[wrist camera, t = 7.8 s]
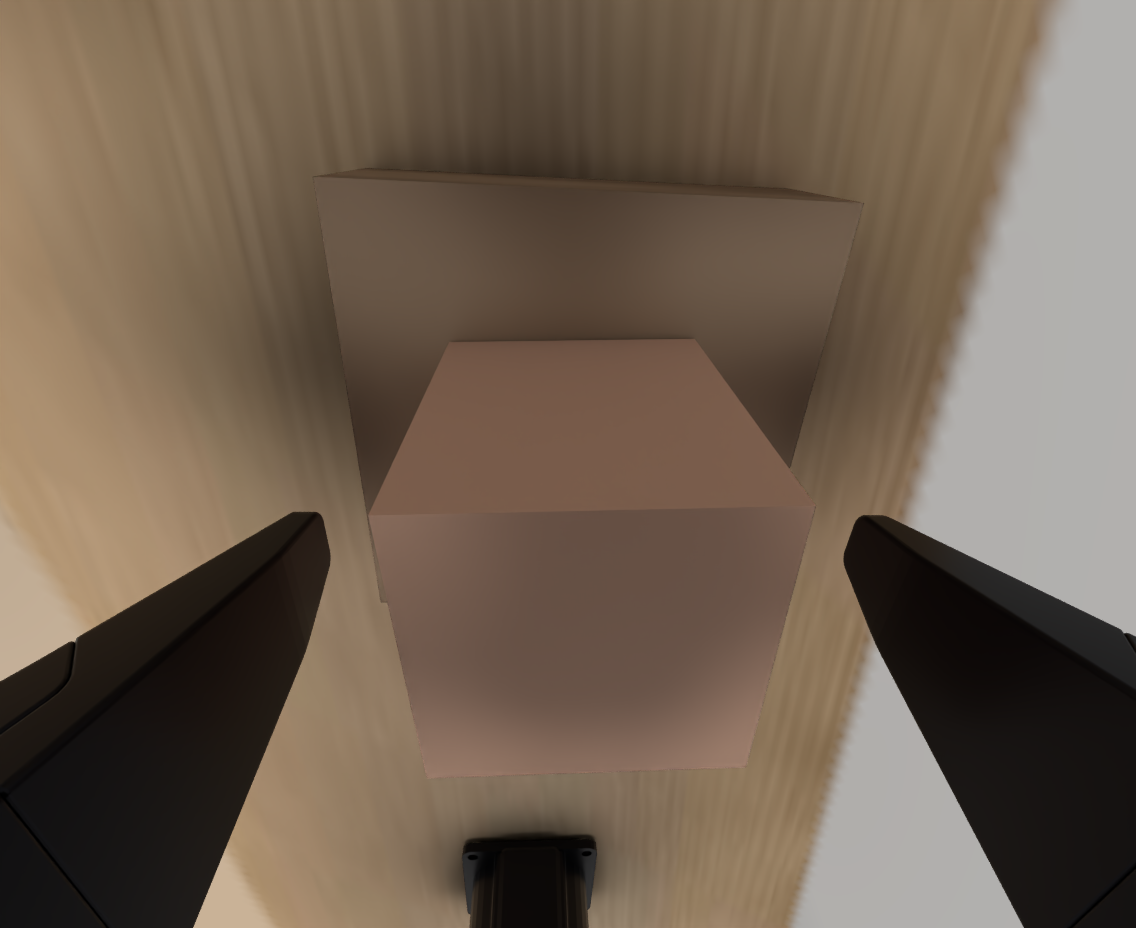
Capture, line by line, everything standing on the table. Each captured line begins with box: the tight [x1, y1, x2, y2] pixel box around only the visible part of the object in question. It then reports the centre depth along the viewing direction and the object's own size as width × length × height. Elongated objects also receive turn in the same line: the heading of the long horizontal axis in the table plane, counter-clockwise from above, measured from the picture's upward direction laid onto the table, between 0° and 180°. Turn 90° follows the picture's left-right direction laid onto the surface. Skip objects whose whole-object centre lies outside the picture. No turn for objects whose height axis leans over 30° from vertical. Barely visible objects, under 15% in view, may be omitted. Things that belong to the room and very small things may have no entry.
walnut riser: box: [313, 168, 864, 603], centre depth 14 cm, size 10×10×4 cm
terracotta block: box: [368, 339, 816, 778], centre depth 10 cm, size 5×5×6 cm
